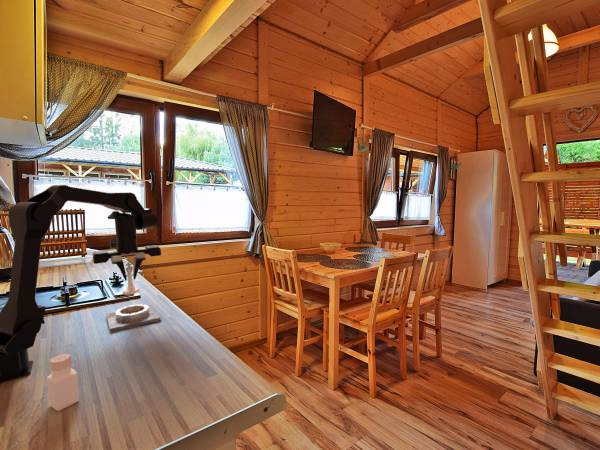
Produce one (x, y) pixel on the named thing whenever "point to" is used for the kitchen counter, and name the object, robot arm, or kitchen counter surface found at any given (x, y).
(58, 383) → the salt shaker
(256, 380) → the kitchen counter surface
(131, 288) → the chess piece
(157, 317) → the hub plate
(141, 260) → the robot arm
